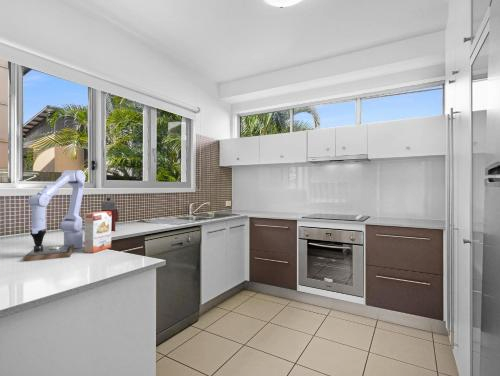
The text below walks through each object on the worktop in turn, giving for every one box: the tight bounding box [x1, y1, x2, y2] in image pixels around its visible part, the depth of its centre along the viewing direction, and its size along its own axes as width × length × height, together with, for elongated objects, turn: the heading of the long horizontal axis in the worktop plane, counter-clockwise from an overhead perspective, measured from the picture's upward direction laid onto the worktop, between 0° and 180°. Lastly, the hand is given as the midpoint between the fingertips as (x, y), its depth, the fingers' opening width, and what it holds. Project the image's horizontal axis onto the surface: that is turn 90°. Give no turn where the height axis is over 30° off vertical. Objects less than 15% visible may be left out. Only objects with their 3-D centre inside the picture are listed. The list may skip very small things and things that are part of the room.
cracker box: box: [83, 210, 112, 254], centre depth 151 cm, size 14×6×21 cm, turn 168°
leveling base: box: [23, 245, 75, 262], centre depth 139 cm, size 18×16×3 cm
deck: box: [28, 244, 71, 256], centre depth 139 cm, size 15×13×3 cm
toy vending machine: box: [101, 194, 119, 232], centre depth 212 cm, size 9×11×28 cm
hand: (38, 246), depth 136 cm, fingers closed, pressing on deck
